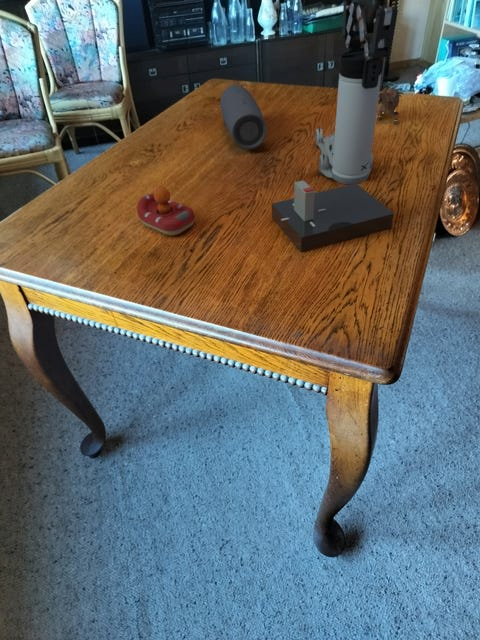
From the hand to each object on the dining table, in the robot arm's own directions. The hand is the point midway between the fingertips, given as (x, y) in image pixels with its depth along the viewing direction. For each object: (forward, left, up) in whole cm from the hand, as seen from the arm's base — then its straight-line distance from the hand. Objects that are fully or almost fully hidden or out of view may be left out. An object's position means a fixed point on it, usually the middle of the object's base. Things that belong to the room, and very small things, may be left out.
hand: (360, 80), depth 72 cm
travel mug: (0, 0, -16) cm, 16 cm away
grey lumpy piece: (-8, -25, -24) cm, 35 cm away
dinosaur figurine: (-28, -46, -24) cm, 58 cm away
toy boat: (+33, -8, -24) cm, 42 cm away
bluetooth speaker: (+11, -46, -24) cm, 53 cm away
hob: (+3, 0, -24) cm, 24 cm away
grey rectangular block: (+9, +1, -21) cm, 23 cm away
